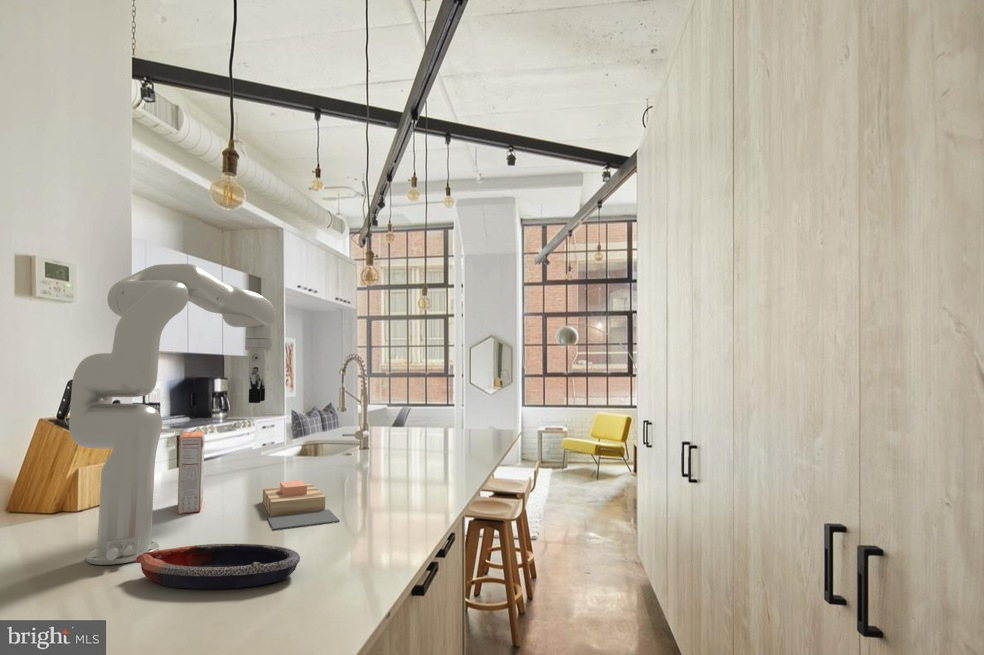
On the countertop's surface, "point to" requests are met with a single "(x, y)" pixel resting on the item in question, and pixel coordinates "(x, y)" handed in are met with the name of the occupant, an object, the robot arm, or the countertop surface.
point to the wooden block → (292, 501)
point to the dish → (219, 565)
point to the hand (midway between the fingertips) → (256, 401)
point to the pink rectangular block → (293, 488)
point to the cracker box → (190, 472)
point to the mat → (301, 519)
